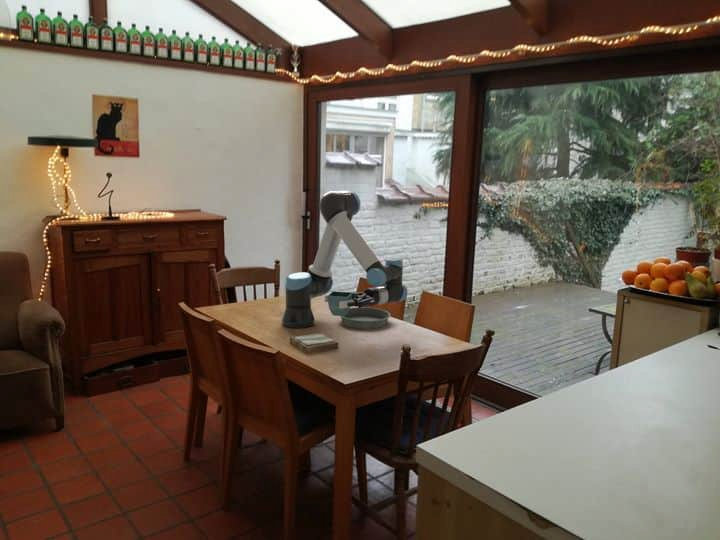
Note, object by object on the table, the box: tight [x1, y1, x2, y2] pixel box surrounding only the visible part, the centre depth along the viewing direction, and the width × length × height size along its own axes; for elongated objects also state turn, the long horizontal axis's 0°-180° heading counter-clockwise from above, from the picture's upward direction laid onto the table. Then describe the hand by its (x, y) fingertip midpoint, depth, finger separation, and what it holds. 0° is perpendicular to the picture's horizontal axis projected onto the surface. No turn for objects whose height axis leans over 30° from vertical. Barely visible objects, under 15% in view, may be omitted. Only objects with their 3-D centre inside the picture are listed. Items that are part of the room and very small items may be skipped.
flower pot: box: [327, 290, 353, 317], centre depth 247 cm, size 9×9×9 cm
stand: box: [289, 332, 339, 354], centre depth 244 cm, size 16×14×3 cm
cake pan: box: [339, 306, 392, 329], centre depth 281 cm, size 25×25×4 cm
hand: (332, 301), depth 245 cm, fingers closed on flower pot, 11 cm apart
